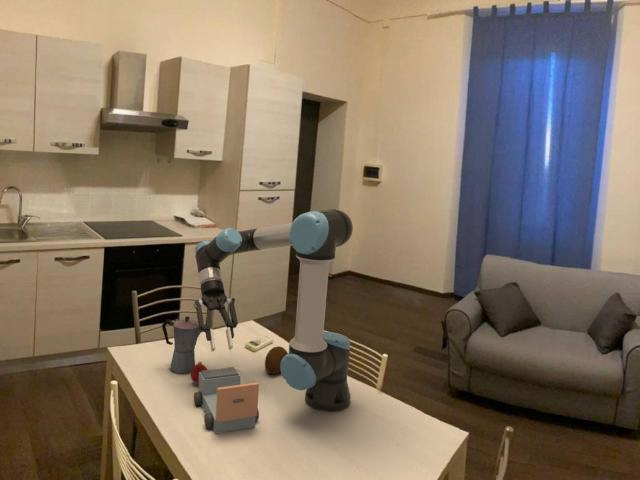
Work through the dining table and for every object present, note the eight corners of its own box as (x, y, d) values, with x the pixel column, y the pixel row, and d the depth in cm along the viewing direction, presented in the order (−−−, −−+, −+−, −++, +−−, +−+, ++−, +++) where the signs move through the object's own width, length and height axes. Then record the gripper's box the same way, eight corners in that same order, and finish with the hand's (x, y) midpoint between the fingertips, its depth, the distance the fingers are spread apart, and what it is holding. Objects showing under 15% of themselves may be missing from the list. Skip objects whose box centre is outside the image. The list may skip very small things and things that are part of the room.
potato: (255, 372, 196) (256, 349, 194) (275, 362, 206) (276, 340, 204) (273, 379, 191) (275, 356, 190) (293, 368, 201) (294, 346, 200)
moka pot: (199, 376, 189) (201, 322, 185) (156, 372, 189) (157, 319, 185) (205, 365, 198) (207, 313, 194) (164, 361, 198) (165, 310, 195)
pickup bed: (192, 398, 173) (193, 371, 171) (239, 392, 179) (240, 365, 178) (208, 434, 153) (210, 403, 152) (260, 425, 160) (262, 395, 158)
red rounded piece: (203, 388, 180) (204, 366, 178) (187, 386, 181) (188, 364, 180) (210, 381, 186) (211, 360, 184) (194, 378, 187) (195, 357, 185)
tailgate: (215, 420, 153) (217, 387, 151) (255, 414, 158) (257, 382, 157) (217, 423, 152) (218, 390, 150) (257, 416, 157) (259, 384, 155)
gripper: (234, 288, 187) (246, 350, 175) (182, 290, 179) (191, 356, 168) (240, 277, 181) (252, 341, 170) (186, 279, 173) (195, 346, 162)
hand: (222, 348), depth 169 cm, fingers open, 5 cm apart
